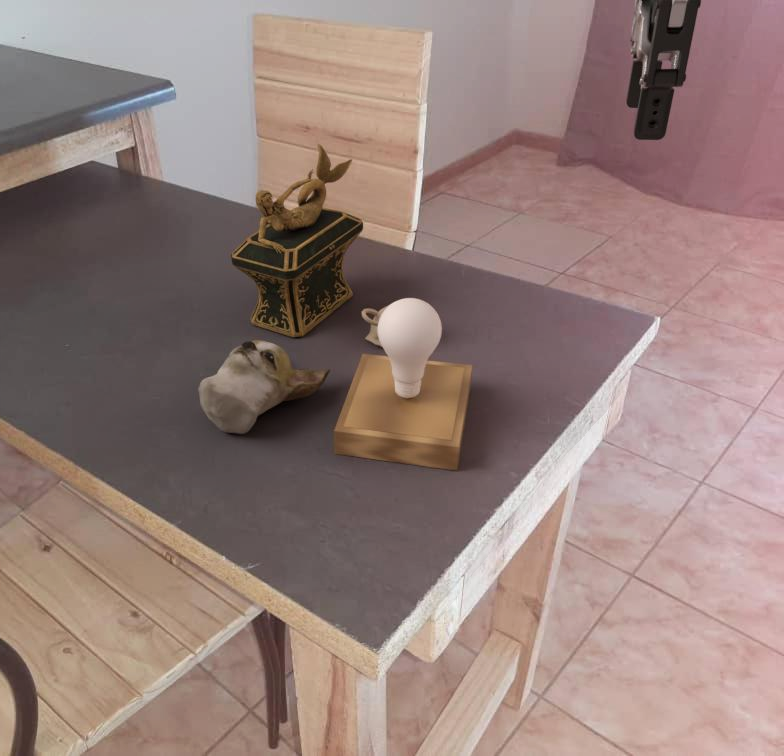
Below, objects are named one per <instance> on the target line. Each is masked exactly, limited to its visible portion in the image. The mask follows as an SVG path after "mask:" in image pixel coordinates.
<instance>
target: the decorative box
mask: <svg viewBox="0 0 784 756" xmlns="http://www.w3.org/2000/svg"><path fill="white" fill-rule="evenodd" d="M317 148H318V149H317V151H318V160H317V163H316V168H315V171H314V169H313V168H312V169H311V170H310V171H308V174H307V177H306V178H305V179H302V180H299V181H296V182H295V183H292V184H291V185H289V186H288V188H287V189H286V190H285V191H284V192H282V194H281V195H280V196H278V197H277V198H276V200H274V197H273V195H272V193H271V192H270V191H269V190H263V189H262V190H259V191H257V192H256V193H255V204H256V206H257V208H258V209H259V211H260V213H262V215H261V219H260V222H259V229H258V231H255V233H253V234H252V235H250V236H248V237H246V239H245V240H244V241H243V242H242V243H241V244H240V245H239V246H237V248H236V249H235V250H233V251H232V252H231V254H230V258H231V264H232V266H233V267H235V268H236V269H238V270H239V271H240V272H242V273H243V274H244V275H246V276H248V277H249V278H250V279H251V280H252V281H253V282H254V284H255V285H256V287H257V292H258V293H257V294H258V295H257V296H258V297H257V302H256V304H255V307H254V309H253V312H252V313H251V316H250V322H251V325H253V326H257V327H260V328H262V329H266V330H269V331H271V332H275V333H278V334H281V335H285V336H287V337H290V338H300V337H304V336H305V335H306V334H308V333H309V332H310V331H311V330H313V329H314V328H315V327H317V325H318V324H320V323H321V322H322V321H324V320H325V319H326V318H327V317H328V316H330V315H331V314H332V313H333V312H334V311H336V310H337V309H338V308H340V307H341V306H342V305H343V304H344V303H346V302H347V301H348V300H350V299H351V298H352V297H353V296H354V295H353V294H354V293H353V291H352V289H351V287H350V286H349V284H348V282H347V281H346V279H345V276H344V271H343V264H344V258H345V255H346V253H347V250H348V249H349V247H350V246H351V245H352V244H353V242H354V241H355V240H356V239H357V238H358V237H359V235H360V234H361V233H362V232H363V230H364V222H363V220H362V219H361V218H359V217H357V216H354V215H352V214H350V213H347V212H345V211H341V210H337V209H332V208H327V207H324V203H325V201H326V199H327V187H326V184H329V183H335V182H337V181H339V180H340V179H342V177H343V176H344V175H346V173H347V171H348V169H349V168H350V166H351V164H352V162H353V159H352V158H350V159H348V160H346V161H344V162H340V163H338V164H336V165H335V166H334V168H332V162H331V159H330V157H329V156H328V153H327V152H326V150H325V149H324V147H323V146H322V145H321V144H320V143H318V144H317ZM331 168H332V169H331ZM314 173H315V175H316V177H317V178H312V175H313V174H314ZM299 188H301V189H300V191H299V193H298V196H297V204H298V206H297V207H294V208H292V209H289V208H286V207H285V204H284V203H285V201H286V200H287V199H288V198H289V197H290V196H291V195H292V193H293V192H294V191H295V190H297V189H299Z"/></svg>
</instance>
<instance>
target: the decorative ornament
mask: <svg viewBox="0 0 784 756" xmlns="http://www.w3.org/2000/svg"><path fill="white" fill-rule="evenodd" d="M389 305H390V304H388V305H386V306H384V307H382V308H381V309H380V310H379V311H378V310H377V309H374V308H369V307H368V308H363V310H361V317H362V318H363V319H364V321H365V322H366V323H368V324H370V330H369V333H368V335H366V336H365V338H364V340H366V341H368V342H370V343H372V344H373V345H375V346H378V347H380V348H383V347H382V345H381V343H380V341H379V338H378V333H377V327H378V323H379V319H380V317H381V315H382V313H383V312H384V310H385V309H386V308H387V307H388V306H389ZM367 314H370V315H373V318H372V319H371V318H370V317H369V316H368V315H367Z"/></svg>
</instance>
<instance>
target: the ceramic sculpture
mask: <svg viewBox="0 0 784 756" xmlns="http://www.w3.org/2000/svg"><path fill="white" fill-rule="evenodd" d="M330 372H331V368H325V369H321V370H314V369H310V368H300V369H293V368H292V364H291V361H290V357H289V355H288V353H287V352H286V351H285V349H283V348H282V347H281V346H279V345H277V344H276V343H272V342H269V341H266V340H260V339H254V340H251V341H250V340H249V341H248V340H247V341H245V342H243V343H241V345H239V346H236V347H235V348H233V349H232V350H231V351H230V353H229V355H228V357H226V359H225V360H224V362H223V363H222V365H221V366H220V368H219V369H218V370H217V372H216V374H214V375H212V376H208V377H205V378H203V379H202V380H201V381H200V383H199V387H198V388H197V390H198V394H199V402H200V406H201V408H202V410H203V411H202V412H204V413H205V415H206V416H207V418H208V420H209V421H211V422H212V423H213V424H214V425H215V426H216V427H217V428H218V429H219V430H220V431H221V432H225V433H229V434H239V435H244V434H246V433H248V432H250V430H251V429H252V428H253V427H254V425H255V424H256V421H257V418H258V417H259V416H260V415H262V414H263V413H265V412H266V411H268V410H270V409H272V408H274V407H275V406H276V407H277V405H279V404H281V403H282V402H285V401H286V402H289V401H294V400H297V399H302V398H306V397H309V396H310V395H312V394H314V393H315V392H316V391H317V390H318V389H319V388H320V387H321V386H322V385H323V384H324V383H325V381H326V379H327V377H328V375H329V374H330Z"/></svg>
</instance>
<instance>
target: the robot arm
mask: <svg viewBox="0 0 784 756" xmlns="http://www.w3.org/2000/svg"><path fill="white" fill-rule="evenodd" d="M701 5H702V0H634V12H633V15H634V16H633V20H632V24H631V34H630V42H631V48H630V55H631V60H632V59H633V60H632V63H631V69H630V70H631V71H630V76H629V82H628V86H627V94H626V99H625V102H626V106H627V107H628V108H630V109H636V115H635V121H634V126H633V136H634V137H635V139H636V140H638V141H639V140H640V141H659V140H660V141H661V140H662V139H664V138H665V136H666V133H667V129H668V123H669V120H670V119H669V118H670V114H671V109H672V103H673V99H674V94H675V90H678V88H682V87H683V86H684V83H685V82H686V80H687V73H686V72H687V67H688V62H689V57H690V52H691V47H692V44H693V43H692V41H693V38H694V37H693V36H694V31H695V28H696V22H697V17H698V11H699V9H700V8H701ZM663 61H669V62H670V63H671V65H670V66H671V67H670V68H662V67H663Z"/></svg>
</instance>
